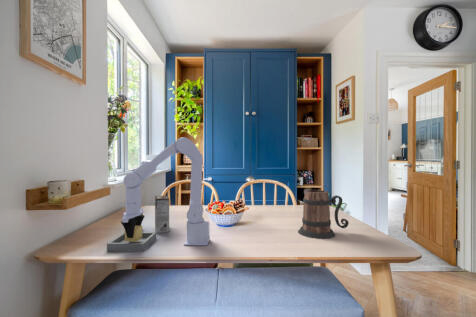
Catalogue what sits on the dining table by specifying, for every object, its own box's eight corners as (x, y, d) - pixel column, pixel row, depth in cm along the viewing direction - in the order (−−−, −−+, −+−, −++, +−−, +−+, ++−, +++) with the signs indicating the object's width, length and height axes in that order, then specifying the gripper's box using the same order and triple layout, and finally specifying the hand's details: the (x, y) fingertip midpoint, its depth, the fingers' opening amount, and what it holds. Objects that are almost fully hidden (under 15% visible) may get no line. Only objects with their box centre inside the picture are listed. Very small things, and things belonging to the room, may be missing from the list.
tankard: (303, 239, 105) (304, 193, 105) (293, 227, 122) (294, 188, 121) (356, 238, 105) (357, 193, 105) (339, 227, 122) (339, 188, 122)
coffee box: (154, 227, 121) (154, 196, 121) (168, 226, 124) (167, 195, 123) (155, 233, 113) (155, 199, 113) (169, 231, 115) (169, 198, 115)
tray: (156, 238, 105) (156, 232, 105) (143, 251, 91) (143, 243, 91) (124, 238, 105) (124, 232, 105) (106, 250, 91) (106, 243, 91)
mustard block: (142, 237, 101) (142, 225, 101) (137, 241, 96) (137, 229, 96) (130, 237, 101) (130, 225, 101) (124, 241, 96) (124, 228, 96)
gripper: (131, 199, 105) (131, 229, 106) (114, 205, 91) (114, 241, 91) (147, 199, 105) (147, 230, 105) (132, 205, 91) (132, 241, 91)
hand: (133, 235), depth 98 cm, fingers closed on mustard block, 5 cm apart
